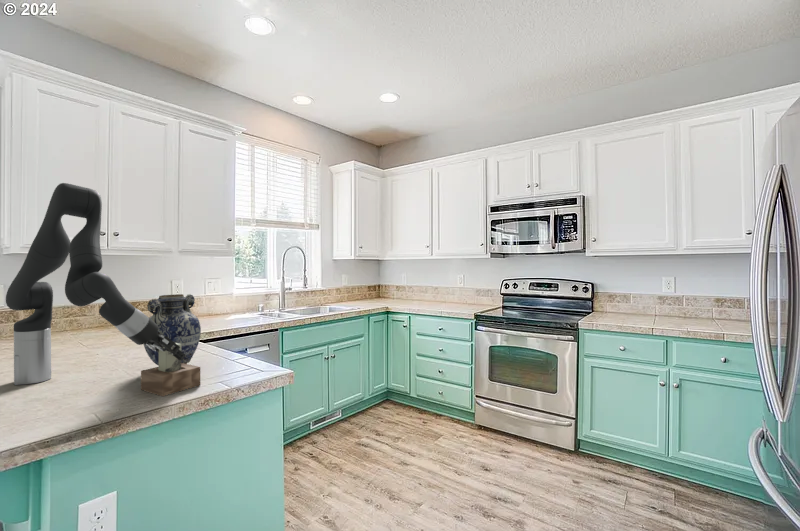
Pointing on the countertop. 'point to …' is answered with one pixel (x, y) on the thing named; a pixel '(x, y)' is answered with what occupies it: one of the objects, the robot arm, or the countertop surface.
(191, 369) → the holder block
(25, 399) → the countertop surface
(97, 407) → the countertop surface
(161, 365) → the box
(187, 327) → the decorative vase
